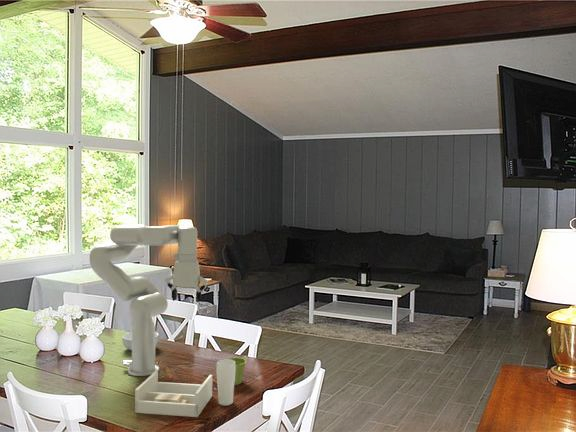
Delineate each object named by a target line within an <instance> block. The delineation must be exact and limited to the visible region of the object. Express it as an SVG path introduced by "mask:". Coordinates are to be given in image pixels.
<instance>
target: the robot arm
mask: <svg viewBox="0 0 576 432" xmlns="http://www.w3.org/2000/svg"><path fill="white" fill-rule="evenodd" d="M109 238H110V240H111V243H103V244H99V245H96V246H94V247H93V248H92V249H91V250H90V252H89V264H90V267H91V269H92V270H93V273H95V275H97V277H99V278H100V279H101V281H103V282H104V283H105V284H106V285H107V286H108V288H110V289H111V291H112V292H114V294H115V295H116V296H117V297H118V298H119V299H120V300H122V302H123V301H124V302H130V304H129V309H128V311H129V317H130V322H131V323H130V324H131V332H132V350H131V360H129V359H127V360H126V359H124V360H122V367H127V368H128V369H127V373H128V374H129V375H130V376H134V377H147V376H148V377H149V376H151V375H152V374H153V373H154V372H155V371H158V372H160V366H159V365H156V345H155V332H156V326H155V323H154V321H153V318H154V317H157V316H160V315H162V314H164V313H165V312H166V310H167V309H168V305H169V304H168V303H169V302H168V299H167V297H166V296H165V295H164V293H162V291H161V290H160V289H159V288H158V287H157V286H156V285H155V284H154V283H153V282H152V281H151V280H150V279H149V278H147V277H145V276H133V277H132V276H129V275H128V274H127V273H126V272H124V270H123V269H122V268H120V267H119V266H118V265H115V264H113V263H119V262H120V263H121V262H124V261H125V260H127V259H128V258H129V256H131V254H132V253H133V252H134V250H135V249H136V248H137V247H138V246H168V245H176V244H177V253H176V254H174V255H173V257H174V258H175V259H176V261H175V262H174V266H173V275H171V276H168V277H167V278H165V280H164V281H165V282H166V285H167V287H168V288H169V289H170V291H171V298H172V301H176V300H177V299H178V289H177V288H195V290H196V293H195V302H196V303H200V301H201V300H202V291H203V290H204V289H206V287H207V285H208V284H209V280H207V279H206V278H204V277H202V276H201V272H200V270H201V269H200V264H199V261H197V260H198V229H197V227H194V226H183V225H179V224H173V225H172V224H171V225H161V226H160V225H159V226H148V225H146V224H133V223H132V224H121V225H116V226H114V227H113V229H111V230H110V234H109ZM171 281H172V282H171ZM201 282H202V286H201V285H200V284H201Z"/></svg>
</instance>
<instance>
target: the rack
mask: <svg viewBox="0 0 576 432" xmlns="http://www.w3.org/2000/svg"><path fill="white" fill-rule="evenodd" d="M207 376H208V377H206V379H205V380H204V381H203V382H202V384H199V383H198V384H197V383H185V382H183V383H181V382H165V381H159V371H155V372H154V373H153V374H152V375H149V376H148V377H147V378H146V379H145V380H144V381H142V383H141V384H140V385H138V386H137V387H136V388H135V389H134V392H135V393H134V413H135V414H137V413H138V414H148V415H149V414H150V415H162V416H174V417H175V416H176V417H177V416H179V417H190V418H191V417H192V418H198V417H199V415H200V414H201V413H202V412H203V410H204V408H205V407H206V405H207V404H208V403H209V401H210V400H211V398H212V397H213V374H209V375H207ZM159 393H162V394H177V395H182V399H185V400H187V403H172V402H157V401H154V399H155V398H156V397H157V396H158V394H159Z"/></svg>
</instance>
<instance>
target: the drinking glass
mask: <svg viewBox="0 0 576 432" xmlns="http://www.w3.org/2000/svg"><path fill="white" fill-rule="evenodd" d="M235 372H236V365H235V361H233V360H228V359H227V358H225V359H219V360H218V361H217V362H216V384H217V386H216V387H217V397H218V398H217V400H218V401H217V402H218V404H219V405H220V406H225V407H226V406H231V405H233V403H234V392H235V385H234V384H235Z"/></svg>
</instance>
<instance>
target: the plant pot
mask: <svg viewBox="0 0 576 432" xmlns="http://www.w3.org/2000/svg"><path fill="white" fill-rule="evenodd" d="M226 359H228V360H233V361H235V365H236V372H235V384H234V386H237V385H241V383H243V381H244V380H243V379H244V371H245V366H246V363H247V360H246V358H242V357H228V358H226Z"/></svg>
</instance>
